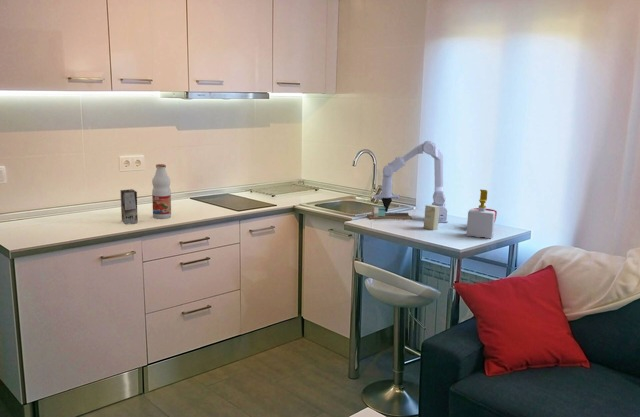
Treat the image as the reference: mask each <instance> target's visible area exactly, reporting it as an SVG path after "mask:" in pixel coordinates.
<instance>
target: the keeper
mask: <svg viewBox="0 0 640 417" xmlns="http://www.w3.org/2000/svg"><path fill="white" fill-rule="evenodd" d="M375 206H376V207H378V216H385V213H386V212H385V207H384V205H375Z"/></svg>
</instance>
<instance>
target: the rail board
mask: <svg viewBox="0 0 640 417" xmlns="http://www.w3.org/2000/svg"><path fill="white" fill-rule="evenodd" d="M376 206H377V205H371V213H370V214H369V213H367V214H368V215H367V216H366V218H368V219H369V220H413V217H412V216H411V215H409V212H385V216H378V207H376Z"/></svg>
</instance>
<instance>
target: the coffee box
mask: <svg viewBox="0 0 640 417" xmlns="http://www.w3.org/2000/svg"><path fill="white" fill-rule="evenodd" d="M120 210H121V212H120V213H121V222H122V223H123V224H125V225H133V224H138V218H139V217H138V191H136V190H135V189H132V188H131V189H120Z"/></svg>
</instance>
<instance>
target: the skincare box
mask: <svg viewBox="0 0 640 417" xmlns="http://www.w3.org/2000/svg"><path fill="white" fill-rule="evenodd" d="M424 206H425V208H424V216H423V217H424V219H423V229H425V230H429V231H435V230H438V228H439V222H438V219H439V209H440V206H435V205H432V204H425V205H424Z"/></svg>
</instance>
